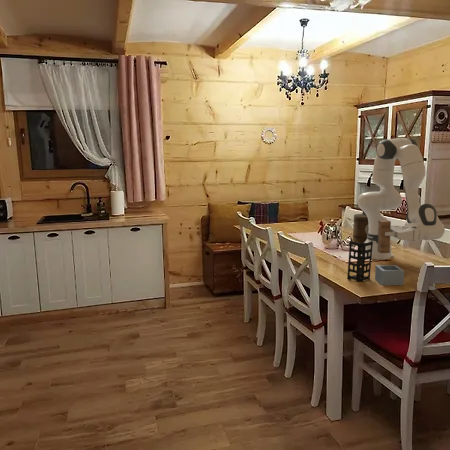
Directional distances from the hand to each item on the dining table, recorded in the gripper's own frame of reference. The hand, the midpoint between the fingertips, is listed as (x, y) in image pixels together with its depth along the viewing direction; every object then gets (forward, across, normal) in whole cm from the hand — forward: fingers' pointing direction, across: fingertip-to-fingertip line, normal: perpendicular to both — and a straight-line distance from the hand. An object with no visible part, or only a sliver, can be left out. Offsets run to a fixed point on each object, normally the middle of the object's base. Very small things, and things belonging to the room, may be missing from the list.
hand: (382, 232), depth 211 cm
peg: (-1, 0, +10) cm, 10 cm away
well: (0, +12, +22) cm, 25 cm away
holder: (+13, +7, +22) cm, 27 cm away
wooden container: (-17, -82, +22) cm, 86 cm away
